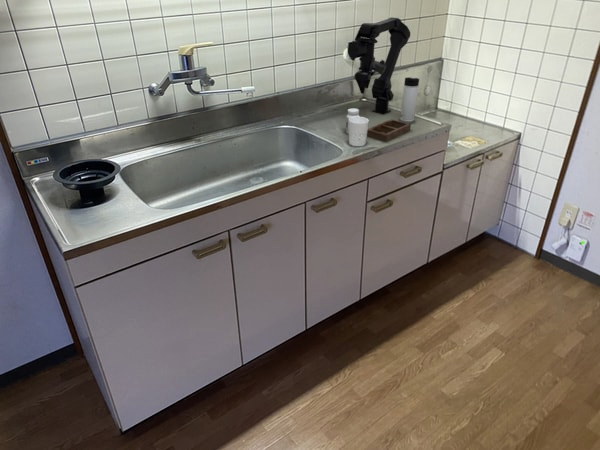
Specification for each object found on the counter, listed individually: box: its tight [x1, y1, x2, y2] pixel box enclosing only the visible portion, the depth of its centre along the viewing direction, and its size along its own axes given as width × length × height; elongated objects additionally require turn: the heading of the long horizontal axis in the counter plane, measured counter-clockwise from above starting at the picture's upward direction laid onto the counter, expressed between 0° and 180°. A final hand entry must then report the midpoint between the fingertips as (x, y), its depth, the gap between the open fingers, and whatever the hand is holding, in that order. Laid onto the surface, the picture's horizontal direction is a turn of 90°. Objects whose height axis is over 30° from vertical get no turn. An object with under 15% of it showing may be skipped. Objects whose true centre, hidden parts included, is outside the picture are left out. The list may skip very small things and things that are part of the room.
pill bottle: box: [345, 107, 361, 135], centre depth 198 cm, size 6×6×10 cm
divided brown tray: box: [366, 118, 412, 143], centre depth 199 cm, size 19×10×3 cm, turn 136°
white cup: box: [348, 116, 370, 147], centre depth 187 cm, size 8×8×10 cm
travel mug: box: [399, 77, 420, 124], centre depth 207 cm, size 6×7×20 cm
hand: (364, 90), depth 209 cm, fingers open, 9 cm apart
